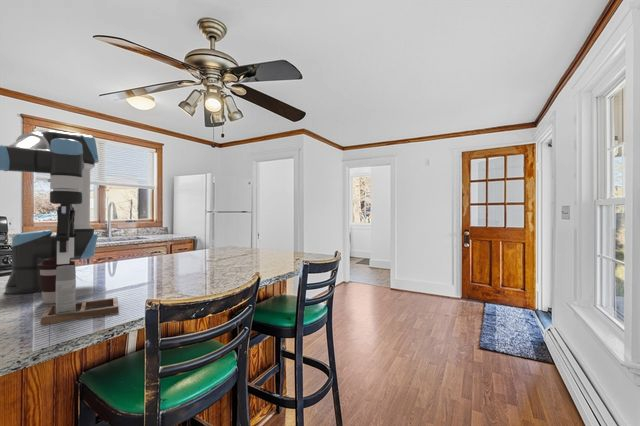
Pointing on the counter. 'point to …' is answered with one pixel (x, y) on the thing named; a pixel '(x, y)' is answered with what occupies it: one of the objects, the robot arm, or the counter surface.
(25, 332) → the counter surface
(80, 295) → the counter surface
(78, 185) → the robot arm
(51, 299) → the coffee cup
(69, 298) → the container
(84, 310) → the walnut divider frame
